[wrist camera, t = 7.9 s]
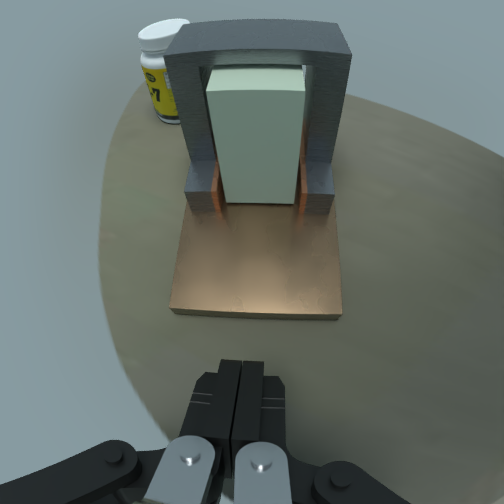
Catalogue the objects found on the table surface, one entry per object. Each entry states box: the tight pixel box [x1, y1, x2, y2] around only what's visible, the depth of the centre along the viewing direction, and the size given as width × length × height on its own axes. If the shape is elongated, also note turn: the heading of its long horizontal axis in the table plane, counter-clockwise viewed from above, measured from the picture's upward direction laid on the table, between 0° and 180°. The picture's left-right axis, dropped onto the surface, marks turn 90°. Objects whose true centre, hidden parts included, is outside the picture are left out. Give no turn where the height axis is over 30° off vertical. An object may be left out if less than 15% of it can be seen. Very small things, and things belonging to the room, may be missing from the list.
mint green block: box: [206, 64, 305, 204], centre depth 17 cm, size 8×4×8 cm, turn 177°
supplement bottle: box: [138, 19, 190, 123], centre depth 22 cm, size 5×5×8 cm
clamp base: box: [163, 19, 352, 320], centre depth 15 cm, size 15×9×10 cm, turn 177°
